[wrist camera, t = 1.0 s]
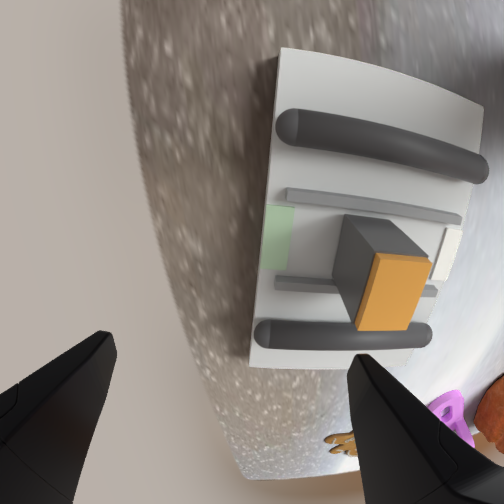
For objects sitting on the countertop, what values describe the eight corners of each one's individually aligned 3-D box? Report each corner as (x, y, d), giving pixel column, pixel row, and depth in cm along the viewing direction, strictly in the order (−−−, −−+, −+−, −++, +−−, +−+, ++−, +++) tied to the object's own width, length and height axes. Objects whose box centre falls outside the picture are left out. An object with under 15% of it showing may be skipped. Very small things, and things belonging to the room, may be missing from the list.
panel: (467, 106, 15) (502, 109, 11) (398, 351, 24) (412, 381, 21) (278, 54, 15) (284, 37, 11) (249, 349, 24) (248, 385, 20)
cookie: (379, 420, 29) (392, 444, 32) (377, 414, 30) (391, 440, 33) (317, 443, 31) (340, 464, 34) (316, 437, 31) (340, 459, 35)
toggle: (389, 219, 16) (434, 261, 11) (374, 277, 18) (407, 331, 13) (344, 213, 16) (379, 256, 11) (331, 274, 18) (355, 332, 13)
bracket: (459, 418, 32) (473, 450, 26) (430, 435, 34) (442, 468, 27) (459, 383, 28) (480, 422, 21) (423, 404, 29) (440, 446, 23)
